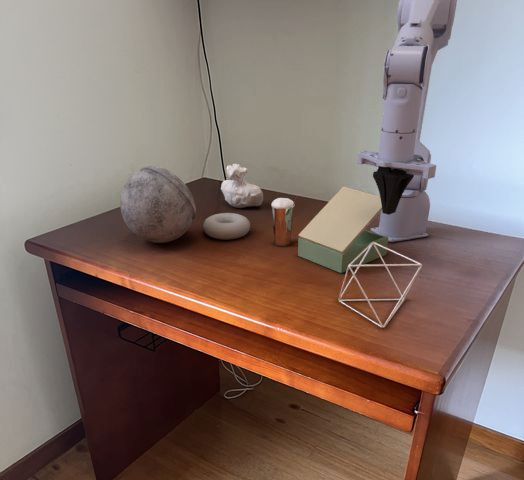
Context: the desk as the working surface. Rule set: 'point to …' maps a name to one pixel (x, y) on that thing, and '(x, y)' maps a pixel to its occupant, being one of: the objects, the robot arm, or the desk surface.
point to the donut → (226, 226)
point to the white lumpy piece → (240, 188)
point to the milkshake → (282, 220)
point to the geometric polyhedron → (389, 274)
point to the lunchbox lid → (342, 219)
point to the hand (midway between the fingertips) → (388, 212)
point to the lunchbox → (340, 260)
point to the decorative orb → (157, 205)
